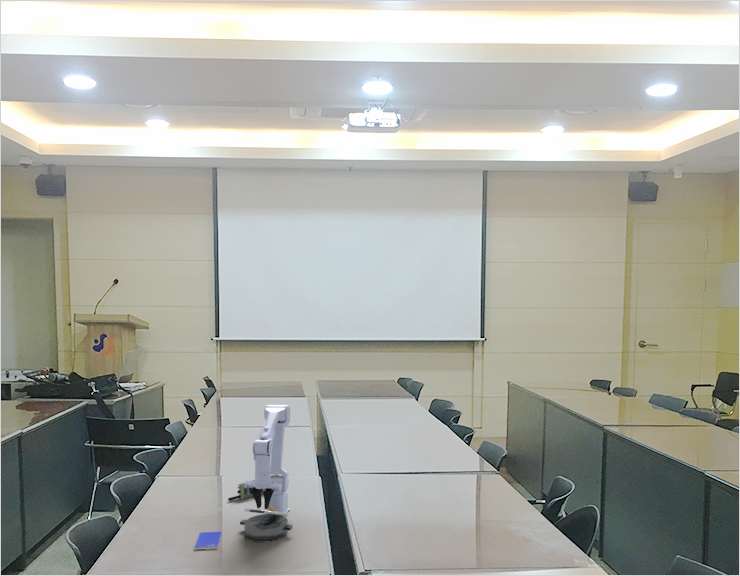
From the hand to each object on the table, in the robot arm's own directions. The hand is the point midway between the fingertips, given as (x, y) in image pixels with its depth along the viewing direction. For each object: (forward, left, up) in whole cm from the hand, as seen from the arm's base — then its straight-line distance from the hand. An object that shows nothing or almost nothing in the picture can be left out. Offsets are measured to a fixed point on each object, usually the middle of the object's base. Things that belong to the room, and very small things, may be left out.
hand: (263, 507), depth 226 cm
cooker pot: (-2, 0, -10) cm, 11 cm away
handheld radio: (-37, -22, -11) cm, 45 cm away
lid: (-3, 0, -3) cm, 4 cm away
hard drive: (+10, -17, -11) cm, 23 cm away
